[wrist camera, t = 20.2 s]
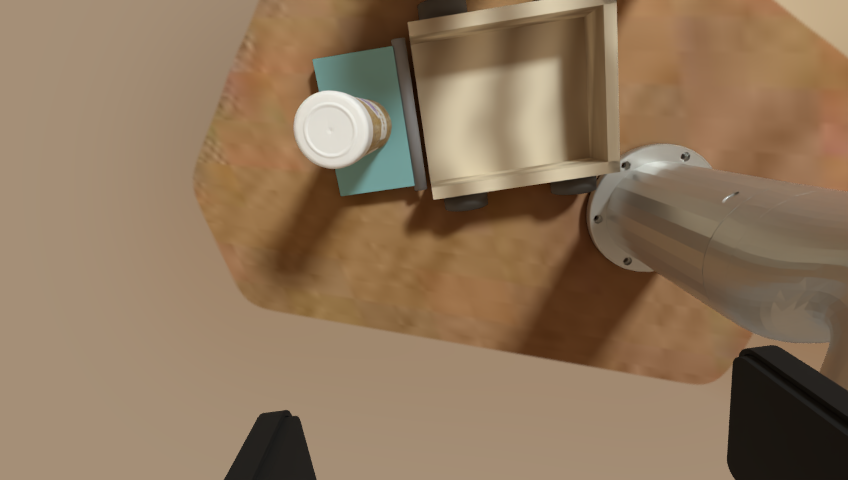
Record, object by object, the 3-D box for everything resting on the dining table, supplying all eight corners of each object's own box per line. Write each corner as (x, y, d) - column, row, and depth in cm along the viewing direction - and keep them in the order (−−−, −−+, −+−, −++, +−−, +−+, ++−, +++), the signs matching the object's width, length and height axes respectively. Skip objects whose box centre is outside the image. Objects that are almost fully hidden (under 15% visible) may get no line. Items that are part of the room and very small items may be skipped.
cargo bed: (590, -16, 36) (615, -37, 31) (597, 182, 41) (620, 190, 36) (406, 14, 37) (404, -1, 32) (434, 206, 42) (435, 217, 37)
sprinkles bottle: (400, 112, 37) (381, 110, 24) (380, 160, 38) (351, 182, 26) (352, 89, 37) (306, 75, 24) (333, 138, 38) (280, 150, 25)
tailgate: (404, 36, 35) (310, 53, 36) (427, 189, 39) (341, 201, 40) (405, 39, 37) (314, 54, 37) (427, 187, 40) (344, 199, 41)
